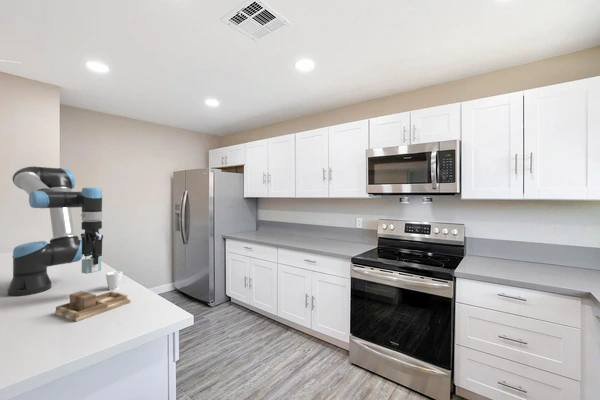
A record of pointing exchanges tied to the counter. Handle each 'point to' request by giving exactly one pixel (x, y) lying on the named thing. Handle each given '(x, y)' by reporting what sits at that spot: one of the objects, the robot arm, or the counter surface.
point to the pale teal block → (89, 265)
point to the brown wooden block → (82, 301)
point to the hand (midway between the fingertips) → (91, 270)
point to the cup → (114, 279)
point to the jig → (102, 305)
